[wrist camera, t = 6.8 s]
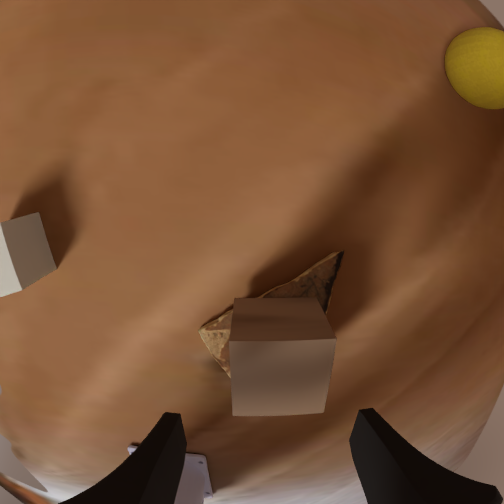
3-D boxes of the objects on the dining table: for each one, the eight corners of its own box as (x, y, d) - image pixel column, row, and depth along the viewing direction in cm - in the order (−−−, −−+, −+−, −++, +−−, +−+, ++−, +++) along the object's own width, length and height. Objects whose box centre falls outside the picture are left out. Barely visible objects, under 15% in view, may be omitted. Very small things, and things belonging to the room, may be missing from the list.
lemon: (434, 113, 16) (513, 96, 8) (416, 42, 15) (481, 1, 7) (485, 117, 16) (558, 109, 8) (469, 52, 15) (534, 27, 7)
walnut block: (309, 363, 19) (323, 412, 15) (236, 364, 19) (232, 415, 15) (316, 297, 18) (336, 338, 13) (234, 297, 18) (229, 341, 13)
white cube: (57, 268, 19) (22, 290, 15) (23, 280, 19) (-11, 300, 15) (39, 211, 18) (0, 222, 14) (6, 229, 18) (-31, 241, 14)
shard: (337, 243, 19) (345, 250, 17) (376, 329, 21) (385, 341, 19) (196, 320, 21) (192, 332, 19) (252, 392, 22) (252, 406, 21)
